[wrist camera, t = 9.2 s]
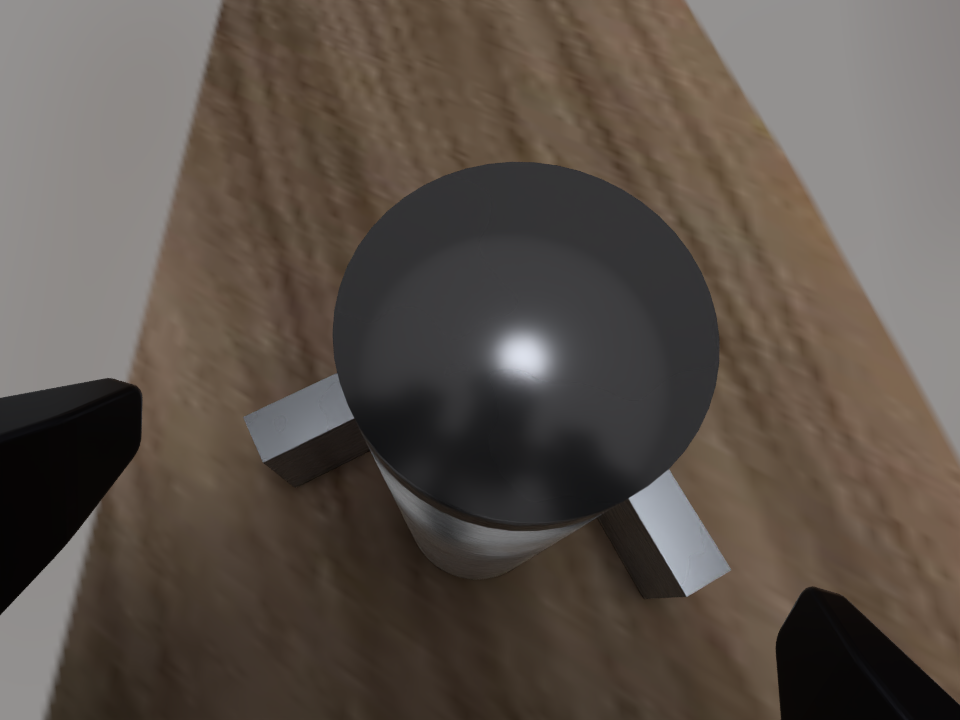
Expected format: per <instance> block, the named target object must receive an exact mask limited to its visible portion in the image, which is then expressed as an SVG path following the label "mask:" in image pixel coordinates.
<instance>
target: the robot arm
mask: <svg viewBox="0 0 960 720" xmlns="http://www.w3.org/2000/svg"><path fill="white" fill-rule="evenodd" d="M141 433H142V393H141V390H140V389H139V388H138V387H137V386H136V385H133V384H129V383H126V382H122V381H119V380H116V379H111V378H106V379H100V380H95V381H89V382H84V383H78V384H73V385H67V386H62V387H57V388H51V389H46V390H40V391H35V392H30V393H25V394H19V395H13V396H8V397H3V398H0V615H1V614H2V613H3V612H4V611H5V609H6V608H7V607H8V606H9V605H10V604H11V603H12V602H13V601H14V600H15V599H16V598H17V597H18V596H19V595H20V594H21V592H22V591H23V590H24V589H25V588H26V587H27V586H28V585H29V584H30V583H31V582H32V581H33V580H34V579H35V578H36V577H37V576H38V575H39V573H40V572H41V571H42V570H43V569H44V568H45V567H46V566H47V565H48V564H49V563H50V562H51V561H52V560H53V559H54V557H55V556H56V555H57V554H58V553H59V552H60V551H61V550H62V549H63V548H64V546H65V545H66V544H67V543H68V542H69V541H70V539H71V538H72V537H73V536H74V534H75V533H76V532H77V530H79V528H80V527H81V526H82V524H83V523H84V522H85V520H86V519H87V518H88V517H89V515H90V514H91V513H92V511H93V510H94V509H95V507H96V506H97V505H98V503H99V502H100V501H101V500H102V498H103V497H104V496H105V494H106V493H107V492H108V490H109V489H110V488H111V486H112V485H113V484H114V482H115V481H116V480H117V479H118V477H119V476H120V475H121V473H122V472H123V471H124V469H125V468H126V467H127V465H128V464H129V463H130V462H131V460H132V459H133V458H134V456H135V455H136V453H137V451H138V449H139V446H140V442H141ZM776 661H777V674H778V686H779V699H780V711H781V720H960V705H959V704H958V703H957V702H956V701H955V700H954V699H953V698H952V697H951V696H950V695H949V694H947V693H946V692H945V691H944V690H943V689H942V688H941V687H940V686H939V685H938V684H937V683H936V682H935V681H934V680H933V679H931V678H930V677H929V676H928V675H927V674H926V673H925V672H924V671H923V670H922V669H921V668H920V667H919V666H918V665H917V664H915V663H914V662H913V661H912V660H911V659H910V658H909V657H908V656H907V655H906V654H905V653H904V652H903V651H902V650H901V649H899V648H898V647H897V646H896V645H895V644H894V643H893V642H892V641H891V640H890V639H889V638H888V637H887V636H886V635H885V634H883V633H882V632H881V631H880V630H879V629H878V628H877V627H876V626H875V625H874V624H873V623H872V622H871V621H870V620H869V619H867V618H866V617H865V616H864V615H863V614H862V613H861V612H860V611H859V610H858V609H857V608H856V607H855V606H854V605H853V604H851V603H850V602H849V601H848V600H847V599H846V598H845V597H844V596H842V595H840V594H837V593H834V592H831V591H827V590H824V589H820V588H817V587H808V588H806V589H805V590H804V591H803V592H802V593H801V594H800V596H799V598H798V599H797V601H796V603H795V605H794V606H793V608H792V610H791V611H790V613H789V615H788V617H787V618H786V620H785V622H784V624H783V625H782V627H781V629H780V631H779V633H778V636H777V641H776Z"/></svg>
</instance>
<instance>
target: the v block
mask: <svg viewBox="0 0 960 720" xmlns="http://www.w3.org/2000/svg"><path fill="white" fill-rule="evenodd" d="M243 418H244V420H245V422H246V425H247V427H248V429H249V431H250V434H251V436H252V438H253V441H254V443H255V445H256V448H257V450H258V452H259V454H260V457H261V459H262V461H263V463H264V464H266V465H267V466H268V467H269V468H271V469H272V470H273V471H274V472H276V473H277V474H278V475H280V476H281V477H282V478H283V479H285V480H286V481H287V482H288V483H290V484H291V485H292V486H294V487H295V488H296V487H298V486H300V485H302V484H304V483H306V482H308V481H310V480H312V479H314V478H316V477H318V476H320V475H322V474H324V473H326V472H328V471H330V470H332V469H334V468H336V467H338V466H340V465H342V464H344V463H346V462H348V461H350V460H352V459H354V458H356V457H358V456H360V455H362V454H364V453H366V452H368V451H370V449H369V447H368V445H367V443H366V441H365V439H364V437H363V435H362V433H361V431H360V429H359V427H358V425H357V423H356V421H355V419H354V417H353V415H352V413H351V411H350V409H349V407H348V404H347V401H346V399H345V396H344V393H343V391H342V388H341V385H340V382H339V378H338V373H336V374H334V375H332V376H330V377H328V378H325V379H323V380H321V381H319V382H317V383H315V384H313V385H311V386H308V387H306V388H304V389H302V390H300V391H298V392H296V393H294V394H291V395H289V396H287V397H285V398H283V399H281V400H279V401H277V402H274V403H272V404H270V405H268V406H266V407H264V408H262V409H259V410H257V411H255V412H253V413H251V414H249V415H247V416H245V417H243ZM597 518H598V520H599V521H600V523H601V525H602V527H603V528H604V530H605V532H606V534H607V535H608V537H609V539H610V541H611V542H612V544H613V546H614V548H615V549H616V551H617V553H618V554H619V556H620V558H621V560H622V561H623V563H624V565H625V567H626V568H627V570H628V572H629V574H630V575H631V577H632V579H633V581H634V582H635V584H636V586H637V588H638V589H639V591H640V593H641V594H642V596H643V598H644V599H648V598H670V597H687V596H689V595H690V594H692V593H694V592H695V591H697V590H699V589H700V588H702V587H704V586H705V585H707V584H709V583H710V582H712V581H714V580H715V579H717V578H719V577H720V576H722V575H724V574H725V573H727V572H728V571H730V570H731V569H730V567H729V566H728V564H727V562H726V561H725V559H724V558H723V556H722V554H721V553H720V551H719V549H718V548H717V546H716V545H715V543H714V541H713V540H712V538H711V537H710V535H709V533H708V532H707V530H706V529H705V527H704V525H703V524H702V522H701V520H700V519H699V517H698V516H697V514H696V512H695V511H694V509H693V508H692V506H691V504H690V503H689V501H688V500H687V498H686V496H685V495H684V493H683V491H682V490H681V488H680V487H679V485H678V483H677V482H676V480H675V479H674V477H673V475H672V474H671V472H670V471H669V469H668V470H667V471H666V472H665V473H663V474H662V475H661V476H660V477H659V478H657V479H656V480H655V481H654V482H653V483H651V484H650V485H649V486H648V487H646V488H644V489H643V490H641V491H640V492H638V493H636V494H635V495H633V496H632V497H630V498H628V499H627V500H625V501H623V502H622V503H620V504H618V505H617V506H615V507H614V508H612V509H610V510H609V511H607V512H605V513H604V514H602V515H600V516H599V517H597Z"/></svg>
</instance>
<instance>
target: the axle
mask: <svg viewBox="0 0 960 720" xmlns="http://www.w3.org/2000/svg"><path fill="white" fill-rule="evenodd" d="M333 347H334V359H335V364H336V368H337V373H338V378H339V382H340V385H341V388H342V391H343V393H344V396H345V399H346V401H347V404H348V407H349V409H350V411H351V413H352V415H353V417H354V419H355V421H356V423H357V425H358V427H359V429H360V431H361V433H362V435H363V437H364V439H365V441H366V443H367V445H368V447H369V449H370V451H371V453H372V455H373V457H374V459H375V461H376V463H377V465H378V467H379V469H380V471H381V473H382V475H383V477H384V479H385V481H386V483H387V485H388V487H389V489H390V491H391V493H392V495H393V497H394V499H395V501H396V503H397V505H398V507H399V509H400V511H401V513H402V515H403V517H404V519H405V521H406V523H407V525H408V527H409V529H410V531H411V533H412V535H413V537H414V539H415V541H416V543H417V545H418V547H419V548H420V550H421V551H422V552H423V554H424V555H425V556H426V557H427V558H428V559H429V560H430V561H431V562H432V563H433V564H434V565H436V566H437V567H438V568H440V569H442V570H443V571H445V572H447V573H449V574H451V575H454V576H457V577H461V578H465V579H488V578H493V577H497V576H500V575H502V574H505V573H507V572H509V571H511V570H512V569H514V568H515V567H517V566H519V565H520V564H522V563H524V562H525V561H527V560H529V559H530V558H532V557H533V556H535V555H537V554H538V553H540V552H542V551H543V550H545V549H547V548H548V547H550V546H551V545H553V544H555V543H556V542H558V541H560V540H561V539H563V538H565V537H566V536H568V535H569V534H571V533H573V532H574V531H576V530H578V529H579V528H581V527H583V526H584V525H586V524H587V523H589V522H591V521H592V520H594V519H596V518H597V517H599V516H600V515H602V514H604V513H605V512H607V511H609V510H610V509H612V508H614V507H615V506H617V505H618V504H620V503H622V502H623V501H625V500H627V499H628V498H630V497H632V496H633V495H635V494H636V493H638V492H640V491H641V490H643V489H644V488H646V487H648V486H649V485H650V484H651V483H653V482H654V481H655V480H656V479H657V478H659V477H660V476H661V475H662V474H663V473H665V472H666V471H667V470H668V469H669V468H670V467H671V466H672V465H673V464H674V462H675V461H676V460H677V459H678V458H679V457H680V456H681V455H682V454H683V452H684V451H685V450H686V448H687V447H688V445H689V444H690V442H691V441H692V439H693V438H694V436H695V435H696V433H697V432H698V430H699V428H700V426H701V424H702V422H703V420H704V418H705V415H706V413H707V411H708V409H709V406H710V403H711V399H712V396H713V393H714V389H715V386H716V380H717V373H718V367H719V332H718V325H717V318H716V313H715V309H714V306H713V302H712V298H711V295H710V292H709V289H708V287H707V285H706V282H705V280H704V277H703V275H702V273H701V271H700V269H699V267H698V266H697V264H696V262H695V260H694V259H693V257H692V255H691V253H690V252H689V250H688V249H687V248H686V246H685V245H684V244H683V242H682V241H681V240H680V239H679V237H678V236H677V235H676V233H675V232H674V231H673V230H672V229H671V228H670V227H669V226H668V225H667V224H666V223H665V222H664V221H663V220H662V219H661V218H660V217H659V216H658V215H657V214H656V213H654V212H653V211H652V210H651V209H650V208H648V207H647V206H646V205H645V204H643V203H642V202H641V201H639V200H638V199H636V198H635V197H633V196H632V195H630V194H628V193H627V192H625V191H624V190H622V189H620V188H618V187H616V186H614V185H612V184H610V183H608V182H606V181H604V180H602V179H600V178H597V177H594V176H592V175H589V174H586V173H583V172H581V171H577V170H573V169H569V168H565V167H561V166H557V165H549V164H542V163H533V162H506V163H495V164H486V165H482V166H477V167H472V168H467V169H464V170H461V171H457V172H454V173H451V174H448V175H445V176H443V177H441V178H439V179H436V180H434V181H432V182H430V183H428V184H426V185H424V186H422V187H420V188H419V189H417V190H416V191H414V192H412V193H411V194H409V195H408V196H406V197H404V198H403V199H402V200H401V201H400V202H398V203H397V204H396V205H395V206H393V207H392V208H391V209H390V210H388V211H387V212H386V213H385V214H384V215H383V216H382V217H381V219H380V220H379V221H378V222H377V223H376V224H375V225H374V226H373V227H372V228H371V229H370V231H369V232H368V233H367V235H366V236H365V238H364V239H363V240H362V242H361V243H360V244H359V246H358V248H357V249H356V251H355V253H354V255H353V257H352V259H351V261H350V262H349V264H348V266H347V269H346V271H345V274H344V277H343V279H342V282H341V285H340V288H339V292H338V296H337V301H336V306H335V310H334V323H333Z"/></svg>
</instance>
